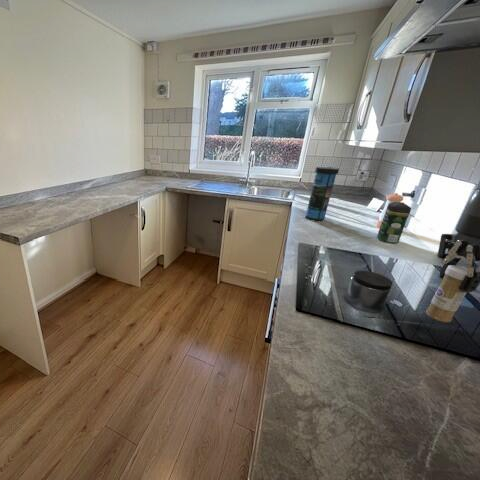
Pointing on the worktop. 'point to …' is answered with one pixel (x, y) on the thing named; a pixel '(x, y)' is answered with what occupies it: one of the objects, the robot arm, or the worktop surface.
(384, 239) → the coffee jar
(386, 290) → the squat metal tin
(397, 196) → the pepper shaker
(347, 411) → the worktop surface
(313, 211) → the advertising column
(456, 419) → the worktop surface
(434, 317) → the sprinkles bottle
